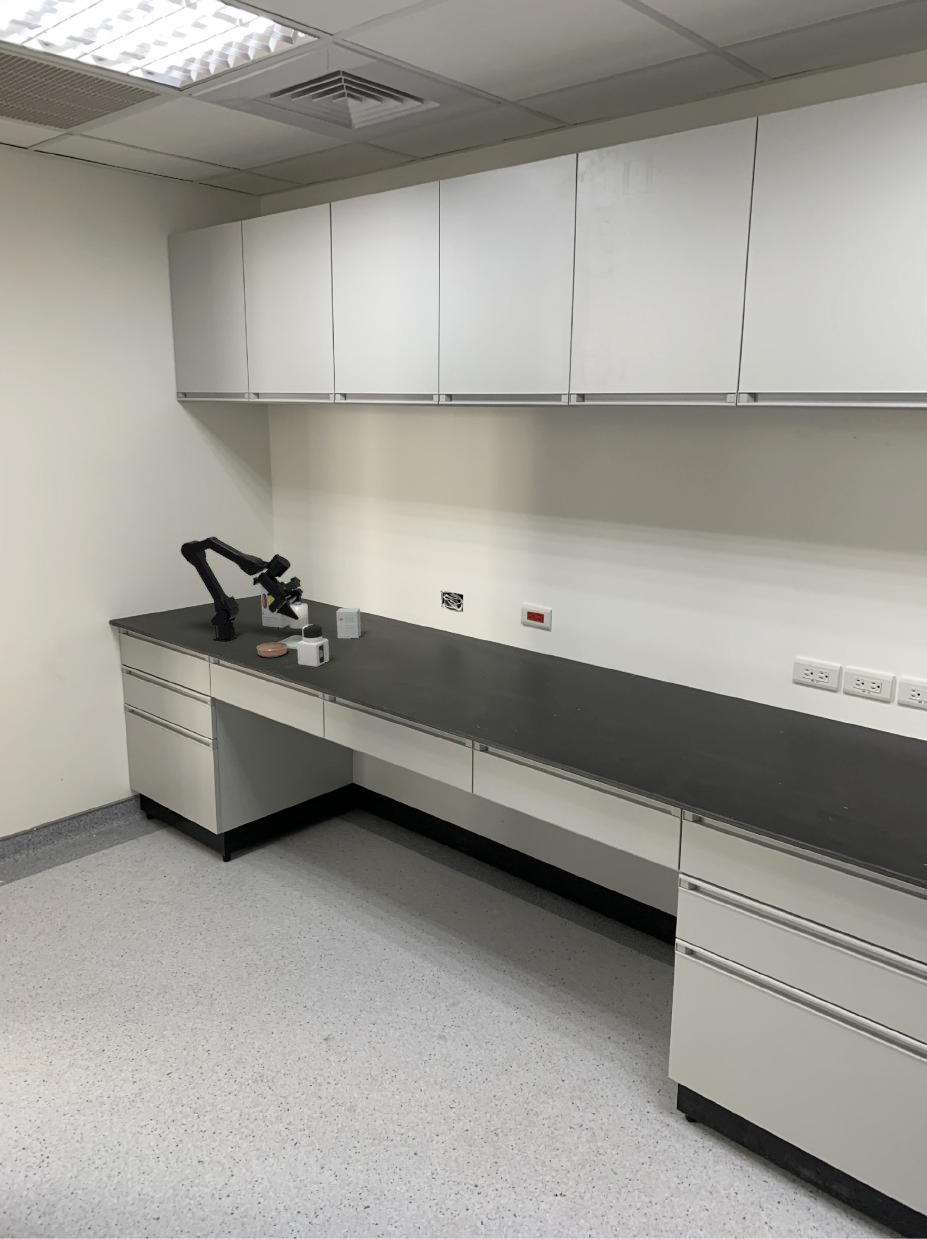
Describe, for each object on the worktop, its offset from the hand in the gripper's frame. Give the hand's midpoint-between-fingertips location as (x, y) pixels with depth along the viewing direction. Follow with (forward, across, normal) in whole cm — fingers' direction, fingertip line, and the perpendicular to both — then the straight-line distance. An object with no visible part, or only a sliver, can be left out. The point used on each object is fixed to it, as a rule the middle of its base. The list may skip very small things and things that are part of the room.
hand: (302, 616), depth 321 cm
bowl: (+4, -16, +10) cm, 19 cm away
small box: (+16, +13, -2) cm, 21 cm away
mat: (+6, 0, +8) cm, 10 cm away
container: (+17, -22, -2) cm, 28 cm away
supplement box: (-8, +24, +23) cm, 34 cm away
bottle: (+2, 0, +4) cm, 4 cm away
